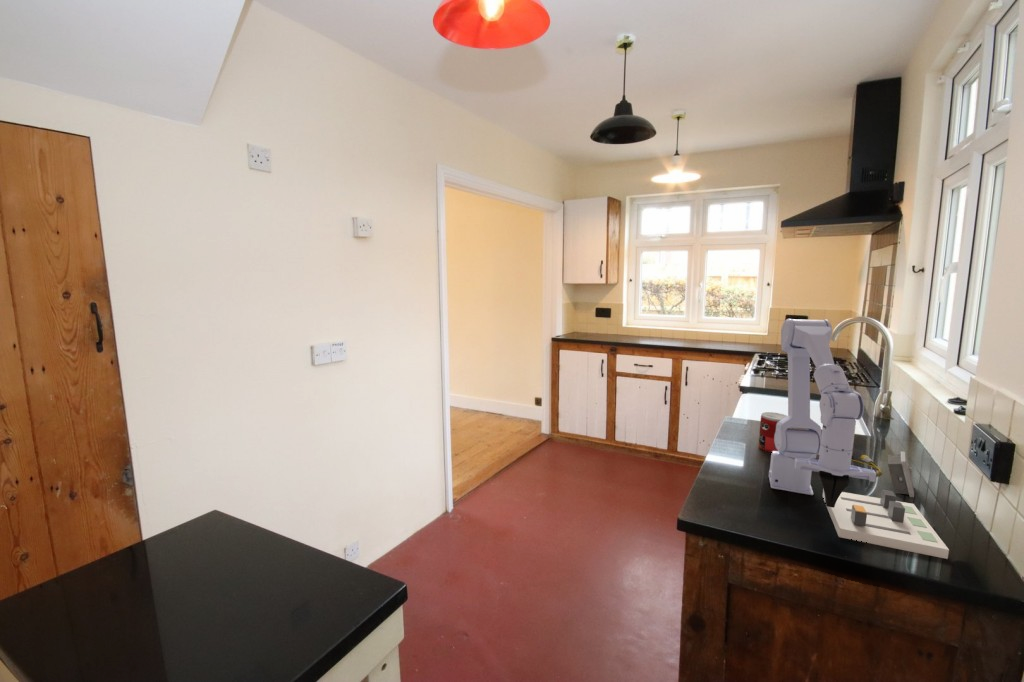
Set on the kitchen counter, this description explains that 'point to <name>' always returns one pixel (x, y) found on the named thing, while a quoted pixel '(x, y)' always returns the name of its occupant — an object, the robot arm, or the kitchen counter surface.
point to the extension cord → (869, 461)
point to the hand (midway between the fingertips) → (829, 505)
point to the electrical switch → (901, 474)
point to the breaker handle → (858, 515)
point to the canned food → (769, 430)
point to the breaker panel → (887, 524)
